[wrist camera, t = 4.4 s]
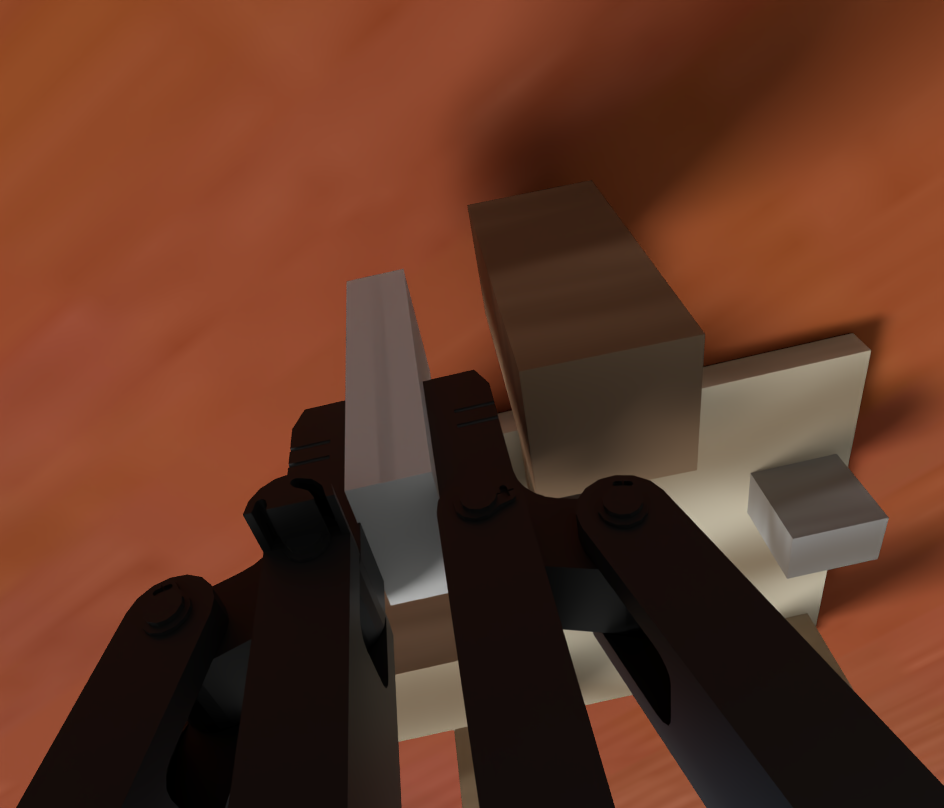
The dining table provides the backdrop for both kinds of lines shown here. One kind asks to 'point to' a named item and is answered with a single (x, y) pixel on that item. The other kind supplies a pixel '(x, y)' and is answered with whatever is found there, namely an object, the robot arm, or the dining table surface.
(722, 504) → the stool seat
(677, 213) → the dining table surface
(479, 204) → the hinged leg
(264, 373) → the dining table surface
